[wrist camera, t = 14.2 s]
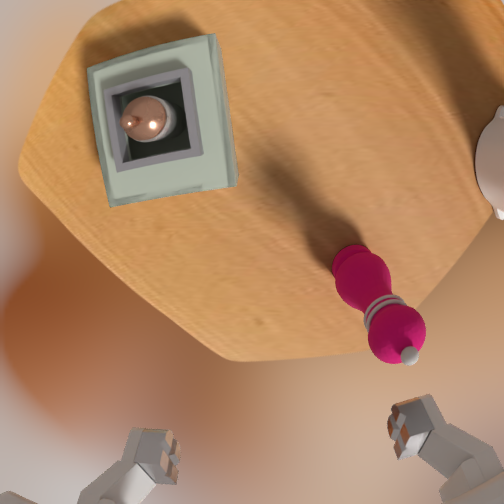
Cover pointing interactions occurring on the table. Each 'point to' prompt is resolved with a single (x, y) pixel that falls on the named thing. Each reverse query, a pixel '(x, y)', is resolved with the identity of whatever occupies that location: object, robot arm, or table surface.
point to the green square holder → (169, 150)
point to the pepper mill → (379, 305)
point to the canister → (153, 119)
